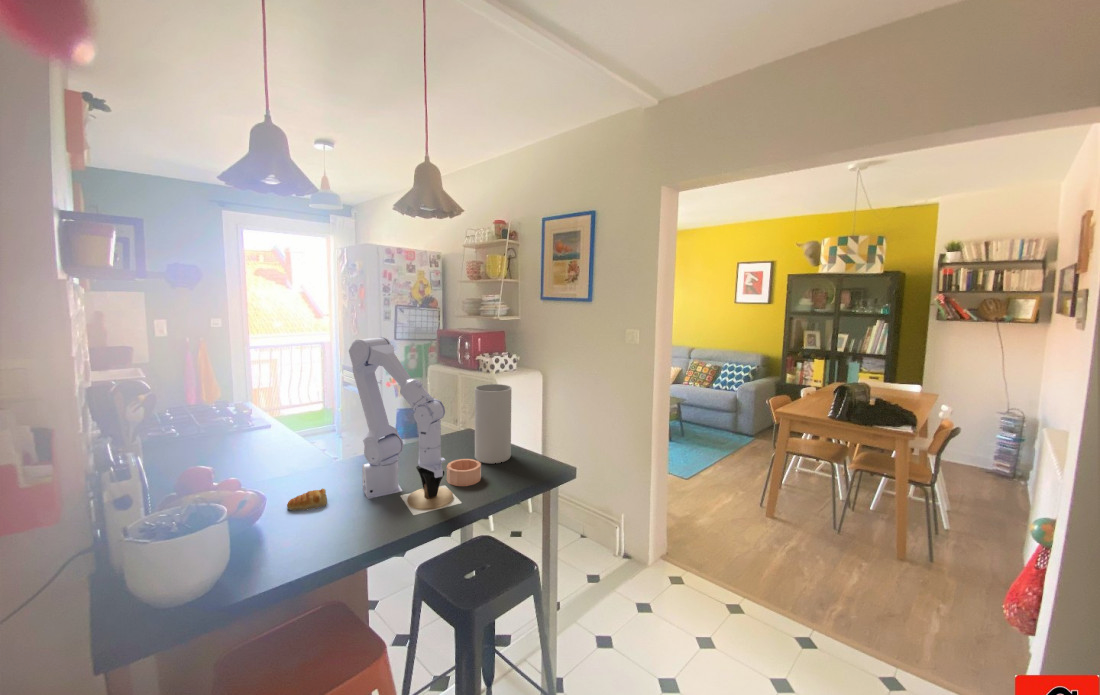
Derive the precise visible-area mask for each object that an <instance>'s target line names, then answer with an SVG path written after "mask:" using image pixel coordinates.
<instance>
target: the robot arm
mask: <svg viewBox="0 0 1100 695" xmlns="http://www.w3.org/2000/svg"><path fill="white" fill-rule="evenodd" d="M348 354H349V357H350V361H351V365H352V374H353V376H354V381H355V384H356V388H357V391H358V396H359V399H360V402H361V407H362V409H363V410H362V411H363V413H364V417H365V420H366V424H367V428H368V431H367V433H366V435H365V437H364V438H363V440H362V441H363V445H364V448H363V451H364V452H363V453H364V454H363V455H364V457H365V460H366V461H367V463H364V464H362V468H361V469H362V470H361V473H362V474H361V476H362V491H363V493H364V495H365V497H366V499H373V498H377V497H381V496H388V495H391V494H396V493H400V492H401V493H402V492H404V491H403V489H402V488H401V486H400V485H399V458H400V454H401V453H402V452H403V450H404V441H403V439H402V438H401V436H400V435H399V433H398V429H397V428H396V427H394V426H392V425H391V424H390V422H389V420H388V416H387V412H386V409H385V405H384V401H383V398H382V395H381V391H380V386H379V384H378V380H377V376H376V370H377V369H378V367H379V366H380V367H382V368H384V370H385V371H386V373H388V374H389V375H390V376H391V378H393V379H394V381H395V382H396V383H397V384H398V385H399V386H400V388H399V394H400V395H401V396H402V397H403V399H404V401H405V402H406V403H407V404H408V405H409V406H410V407H411V409H412V410H413V412H414V413H413V415H412V416H413V419H414V421H415V423H416V426H417V430H418V461H417V462H418V465H417V466H415V468H416V470H417V472H418V474H419V477H420V479H421V484H422V488H423V489H424V484H425V483H426V486H427V493H428V496H429V497H434V496H437V493H438V489H439V487H440V486H441V485H440V484H441V481H442V479H443V477H444V476H445V471H444V470H443V468H442V467H443V466H442V465H443V464H444V463H446V459H445V458H444V457H442V439H441V438H442V427H441V426H442V425H441V424H442V423H441V422H442V419H443V418H444V417H445V414H446V408H445V406H444V404H443V402H442V401H441V400H440V399H437V398H435V397H433V396H432V395H431V394H430V393H429V392H428V391H427V390H426V389H425V387H424V386H423V383H422V381H419V379H417V378H416V379H415V378H412V377H411V376H410V374H409V373H408V372H407V370H406V369H405V367H404V366H403V364H402V362H401V361H400V359H399V358H398V357H397V355H396V354H395V346H394V345H392V343H391V341H390V340H389V338H387V337H384V336H379V337H373V338H357V339H355V340H353V342H352V343H351V346H350V347H349V349H348ZM442 463H443V464H442Z"/></svg>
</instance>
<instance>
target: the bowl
mask: <svg viewBox="0 0 1100 695" xmlns="http://www.w3.org/2000/svg"><path fill="white" fill-rule="evenodd" d="M481 479H482V462H479V461H478V460H476V459H473V458H459V459H454V460H452V461H450V462H448V463H447V465H446V482H447V483H448V484H449V485H452V486H456V487H468V486H472V485H476V484H477V483H479V482H481Z"/></svg>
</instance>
